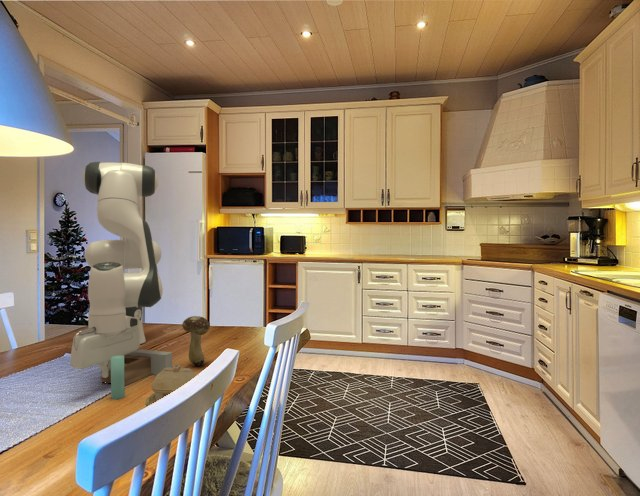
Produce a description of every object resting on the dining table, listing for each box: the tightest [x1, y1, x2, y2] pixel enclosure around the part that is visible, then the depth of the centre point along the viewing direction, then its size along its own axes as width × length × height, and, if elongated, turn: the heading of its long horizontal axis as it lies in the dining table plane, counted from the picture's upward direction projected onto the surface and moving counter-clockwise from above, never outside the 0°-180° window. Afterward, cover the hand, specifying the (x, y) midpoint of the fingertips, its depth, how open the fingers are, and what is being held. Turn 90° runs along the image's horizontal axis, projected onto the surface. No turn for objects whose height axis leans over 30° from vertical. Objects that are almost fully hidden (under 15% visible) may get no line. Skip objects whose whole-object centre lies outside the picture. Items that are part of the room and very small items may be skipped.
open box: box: [100, 355, 152, 386], centre depth 116 cm, size 8×10×5 cm
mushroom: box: [181, 315, 211, 367], centre depth 128 cm, size 9×9×15 cm
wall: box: [123, 348, 173, 376], centre depth 122 cm, size 18×3×6 cm, turn 73°
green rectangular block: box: [110, 355, 126, 400], centre depth 102 cm, size 3×3×10 cm
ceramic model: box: [144, 364, 198, 407], centre depth 96 cm, size 14×11×10 cm
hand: (108, 376), depth 110 cm, fingers closed
